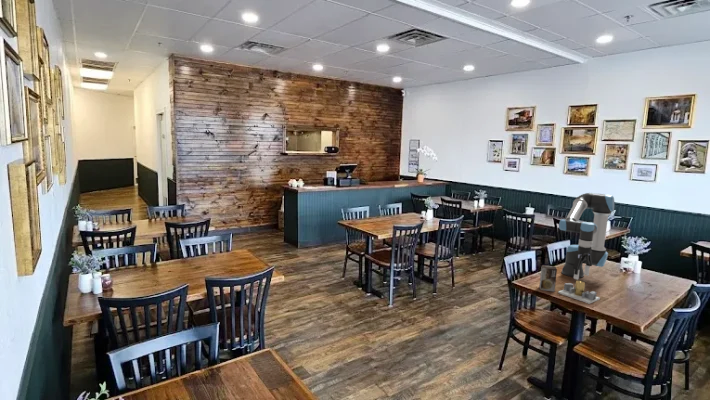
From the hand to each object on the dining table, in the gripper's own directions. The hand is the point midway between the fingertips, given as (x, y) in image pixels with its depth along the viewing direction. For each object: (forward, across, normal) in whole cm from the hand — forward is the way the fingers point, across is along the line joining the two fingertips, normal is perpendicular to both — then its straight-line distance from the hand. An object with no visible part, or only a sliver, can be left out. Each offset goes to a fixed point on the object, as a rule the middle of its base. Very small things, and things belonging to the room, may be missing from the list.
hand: (581, 277), depth 257 cm
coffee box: (+13, -8, +18) cm, 24 cm away
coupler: (+12, -1, 0) cm, 12 cm away
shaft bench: (+13, -1, 0) cm, 13 cm away
